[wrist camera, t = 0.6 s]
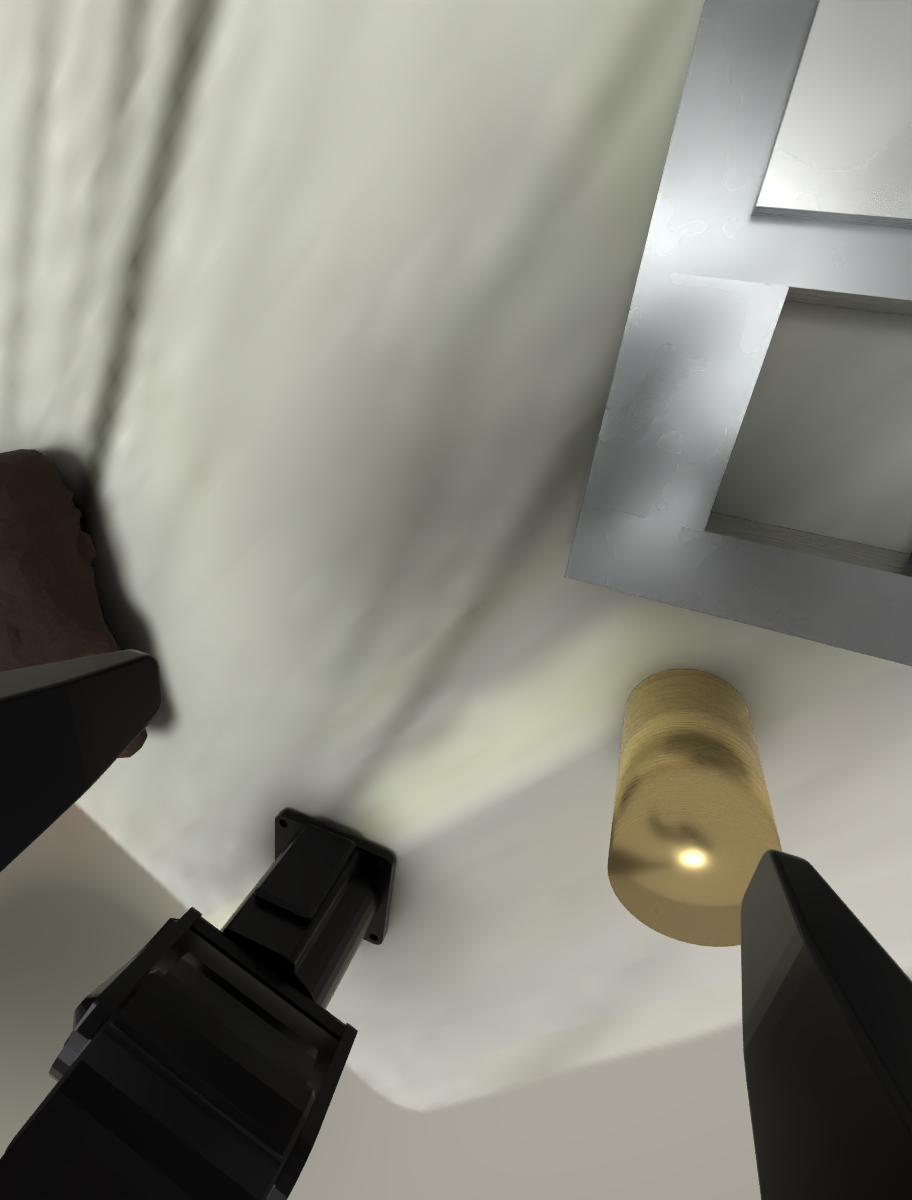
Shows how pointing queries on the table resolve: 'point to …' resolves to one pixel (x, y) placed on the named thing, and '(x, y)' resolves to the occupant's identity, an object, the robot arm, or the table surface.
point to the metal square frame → (757, 313)
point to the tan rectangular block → (688, 808)
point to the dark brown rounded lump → (46, 572)
